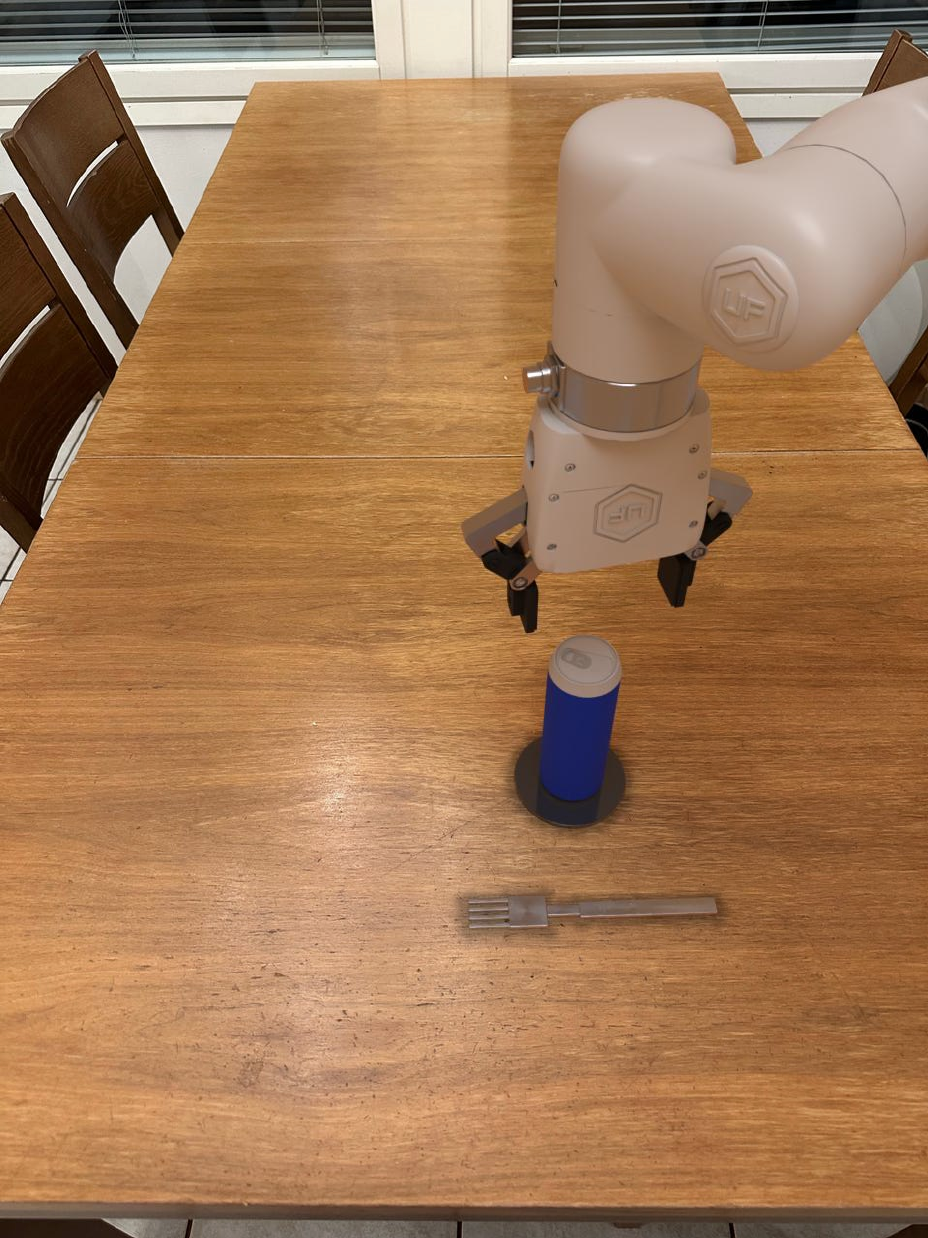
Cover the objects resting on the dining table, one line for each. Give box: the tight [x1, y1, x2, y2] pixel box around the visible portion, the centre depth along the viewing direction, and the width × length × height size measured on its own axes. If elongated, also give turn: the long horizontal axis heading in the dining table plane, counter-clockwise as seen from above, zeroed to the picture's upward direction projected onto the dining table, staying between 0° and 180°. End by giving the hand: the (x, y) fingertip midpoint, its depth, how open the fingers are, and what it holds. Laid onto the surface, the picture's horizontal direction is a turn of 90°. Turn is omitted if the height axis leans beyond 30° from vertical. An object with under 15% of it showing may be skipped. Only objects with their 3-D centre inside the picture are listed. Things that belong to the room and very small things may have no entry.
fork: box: [467, 894, 719, 930], centre depth 69 cm, size 18×2×1 cm, turn 92°
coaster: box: [513, 735, 627, 829], centre depth 77 cm, size 9×9×1 cm
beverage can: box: [539, 633, 623, 801], centre depth 71 cm, size 5×5×15 cm
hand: (598, 604), depth 61 cm, fingers open, 9 cm apart
